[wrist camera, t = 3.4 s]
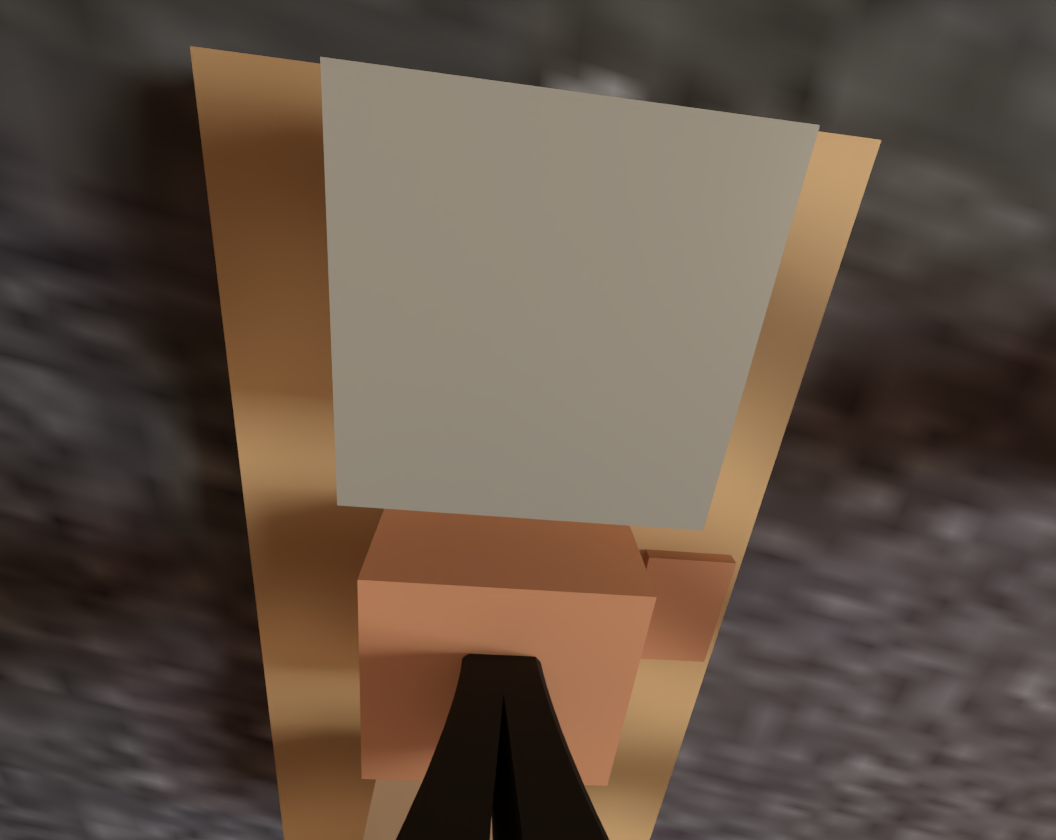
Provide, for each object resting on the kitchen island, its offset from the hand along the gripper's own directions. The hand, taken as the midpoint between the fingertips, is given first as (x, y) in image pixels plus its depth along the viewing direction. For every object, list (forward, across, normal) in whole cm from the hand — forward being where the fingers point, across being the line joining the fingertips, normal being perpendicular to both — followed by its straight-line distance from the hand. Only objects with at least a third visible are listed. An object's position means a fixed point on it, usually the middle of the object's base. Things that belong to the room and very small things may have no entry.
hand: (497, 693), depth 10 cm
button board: (+5, 0, 0) cm, 5 cm away
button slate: (+1, 0, -7) cm, 7 cm away
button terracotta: (+2, 0, 0) cm, 2 cm away
